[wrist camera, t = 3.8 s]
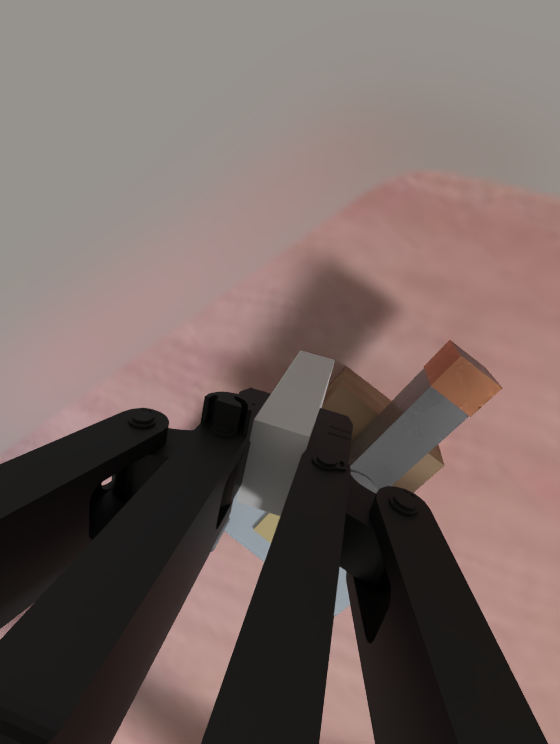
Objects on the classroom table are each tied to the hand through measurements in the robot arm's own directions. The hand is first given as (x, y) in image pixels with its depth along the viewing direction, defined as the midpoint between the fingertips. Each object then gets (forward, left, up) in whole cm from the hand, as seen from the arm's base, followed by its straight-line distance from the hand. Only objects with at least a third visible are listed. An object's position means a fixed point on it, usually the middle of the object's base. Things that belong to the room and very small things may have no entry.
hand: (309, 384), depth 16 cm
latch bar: (-2, -6, -7) cm, 10 cm away
